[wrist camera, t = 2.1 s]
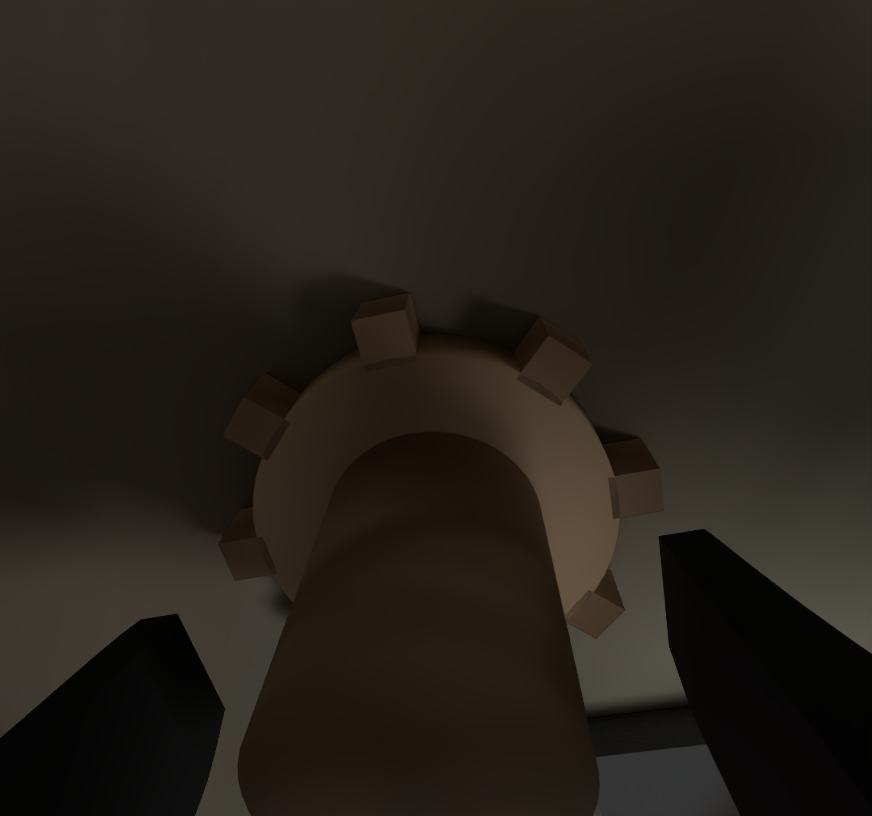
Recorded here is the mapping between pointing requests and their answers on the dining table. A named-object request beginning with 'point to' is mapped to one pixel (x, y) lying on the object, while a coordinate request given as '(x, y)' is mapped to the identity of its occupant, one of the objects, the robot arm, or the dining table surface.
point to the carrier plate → (657, 767)
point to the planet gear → (431, 574)
